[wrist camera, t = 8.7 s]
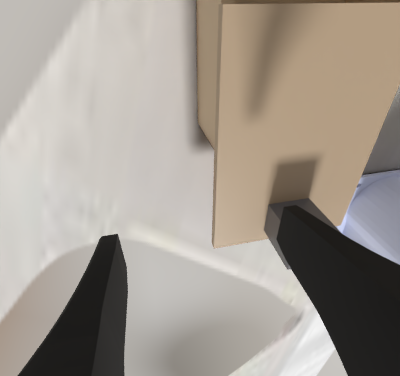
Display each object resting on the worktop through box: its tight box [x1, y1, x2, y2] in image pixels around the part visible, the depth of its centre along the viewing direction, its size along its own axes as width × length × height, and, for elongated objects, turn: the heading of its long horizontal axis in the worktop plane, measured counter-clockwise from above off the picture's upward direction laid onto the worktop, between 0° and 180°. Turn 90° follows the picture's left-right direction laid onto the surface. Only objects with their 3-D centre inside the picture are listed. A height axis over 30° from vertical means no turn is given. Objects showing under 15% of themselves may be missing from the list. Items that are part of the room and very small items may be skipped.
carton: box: [196, 0, 400, 151], centre depth 14 cm, size 14×10×5 cm
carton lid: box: [212, 2, 400, 269], centre depth 14 cm, size 14×10×4 cm
